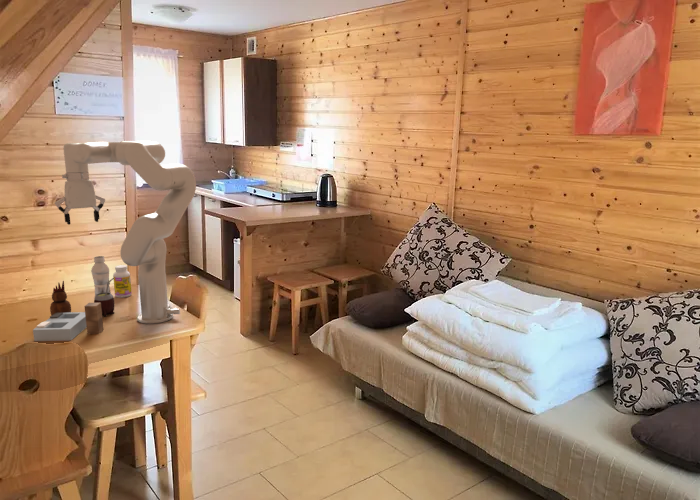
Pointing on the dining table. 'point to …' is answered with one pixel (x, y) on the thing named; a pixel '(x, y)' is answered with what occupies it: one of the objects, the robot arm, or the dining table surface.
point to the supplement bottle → (122, 281)
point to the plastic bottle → (100, 275)
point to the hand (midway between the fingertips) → (82, 222)
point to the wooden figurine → (59, 300)
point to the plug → (93, 318)
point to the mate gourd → (105, 301)
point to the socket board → (60, 327)
